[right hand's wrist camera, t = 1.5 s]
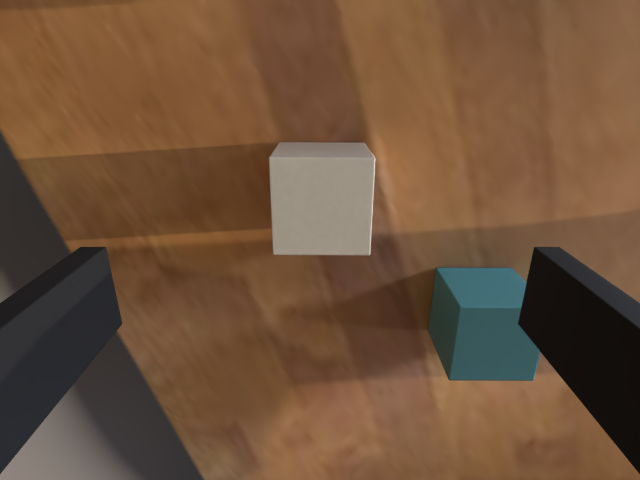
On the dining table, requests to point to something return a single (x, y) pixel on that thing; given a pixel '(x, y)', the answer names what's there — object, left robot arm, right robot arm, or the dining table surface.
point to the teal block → (481, 325)
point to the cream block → (321, 198)
